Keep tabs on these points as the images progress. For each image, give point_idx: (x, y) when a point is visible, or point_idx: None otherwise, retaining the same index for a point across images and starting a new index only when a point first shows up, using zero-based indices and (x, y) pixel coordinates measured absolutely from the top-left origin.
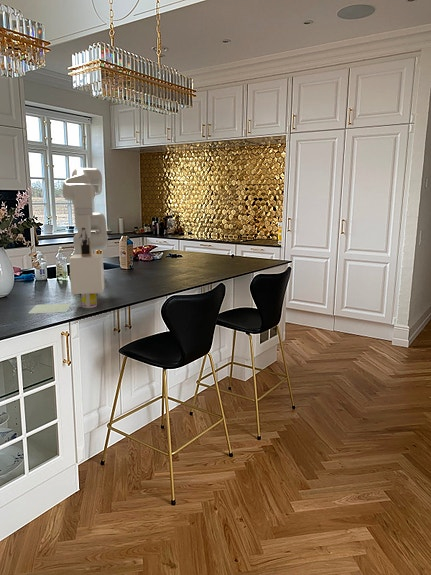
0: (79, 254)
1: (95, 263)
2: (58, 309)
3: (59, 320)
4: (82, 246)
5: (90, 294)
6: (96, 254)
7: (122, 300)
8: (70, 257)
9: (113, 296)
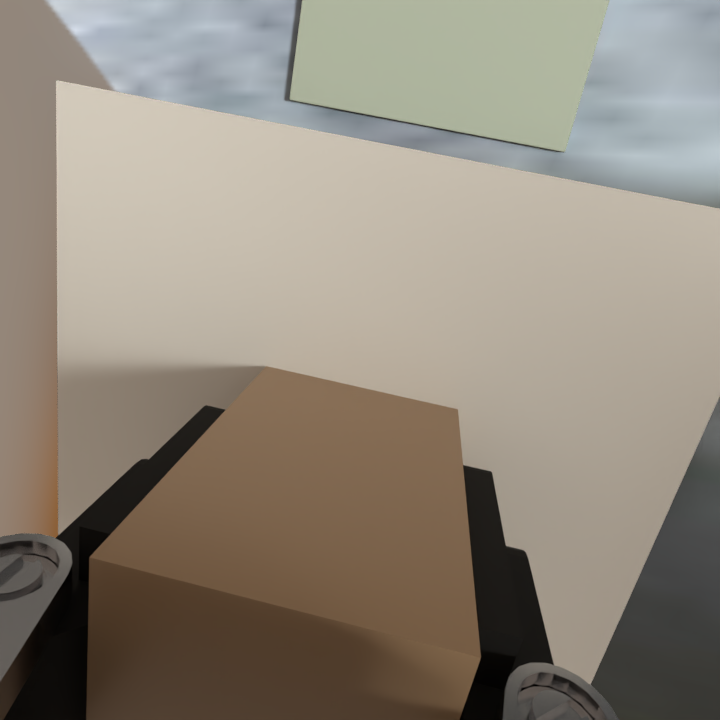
0: (703, 367)
1: None
2: (386, 35)
3: (95, 49)
4: (110, 524)
5: None
6: None
7: None
8: (173, 117)
9: (687, 487)
